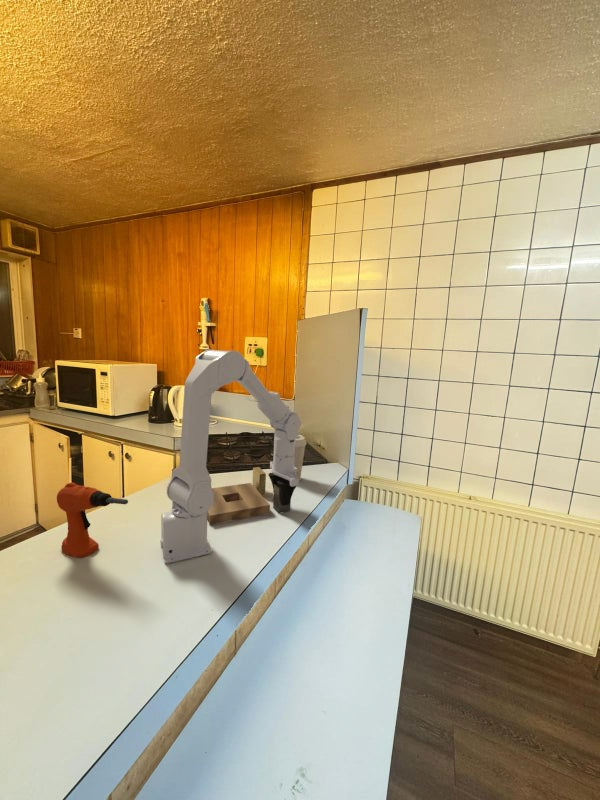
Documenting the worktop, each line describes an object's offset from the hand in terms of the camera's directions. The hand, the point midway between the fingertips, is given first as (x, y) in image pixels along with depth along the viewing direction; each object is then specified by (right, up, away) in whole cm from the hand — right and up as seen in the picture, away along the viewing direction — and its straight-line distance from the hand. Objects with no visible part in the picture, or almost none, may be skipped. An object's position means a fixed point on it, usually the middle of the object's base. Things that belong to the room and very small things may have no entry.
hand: (281, 501), depth 92 cm
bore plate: (-14, -2, +1) cm, 14 cm away
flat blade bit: (-8, -1, +11) cm, 13 cm away
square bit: (0, -2, 0) cm, 2 cm away
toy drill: (-37, -4, -23) cm, 44 cm away
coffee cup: (+2, +1, +23) cm, 23 cm away
